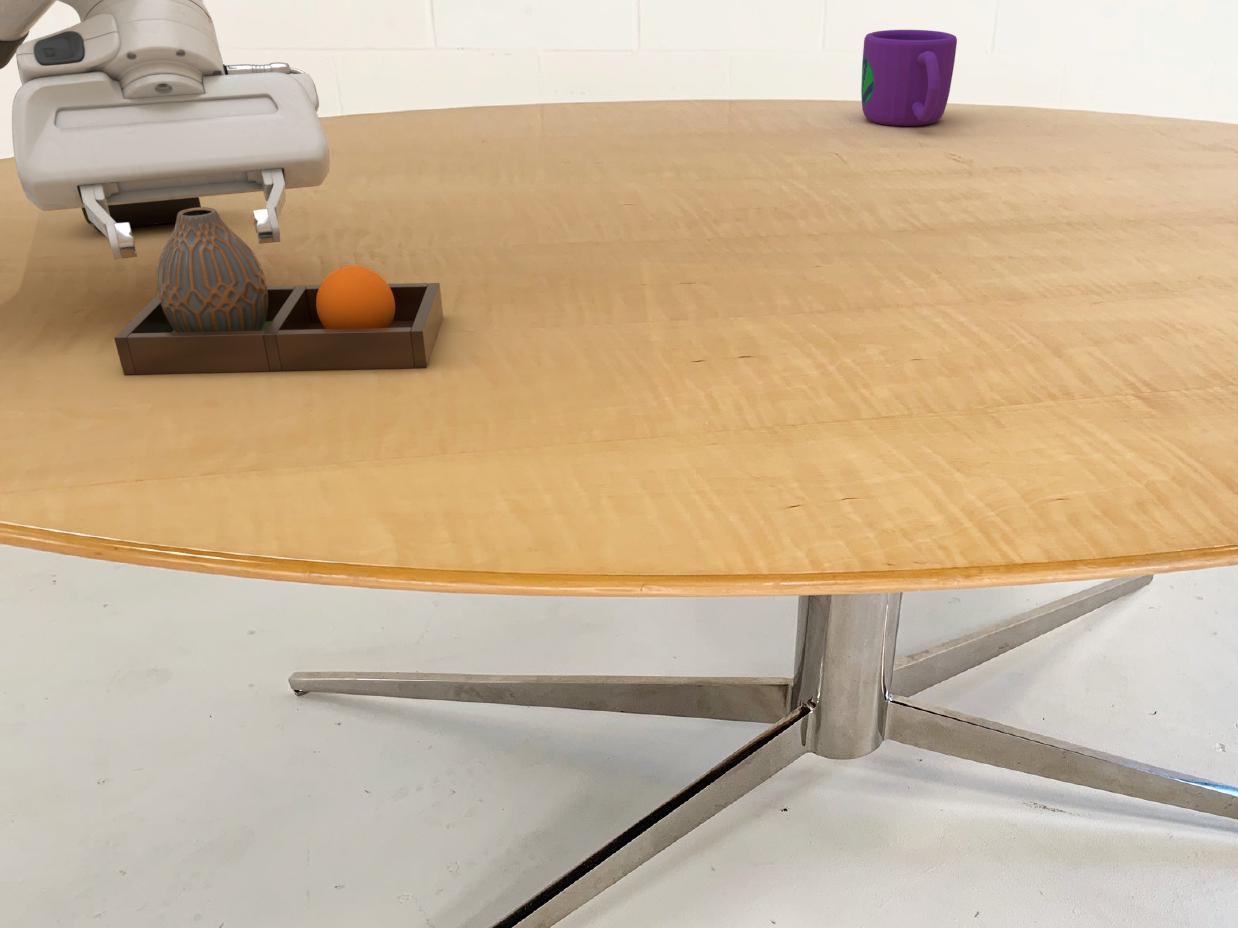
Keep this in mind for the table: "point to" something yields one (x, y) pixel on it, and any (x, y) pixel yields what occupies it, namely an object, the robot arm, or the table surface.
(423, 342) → the tray
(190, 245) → the vase
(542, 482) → the table surface
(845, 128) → the table surface
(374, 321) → the clementine
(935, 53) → the mug
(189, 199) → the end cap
